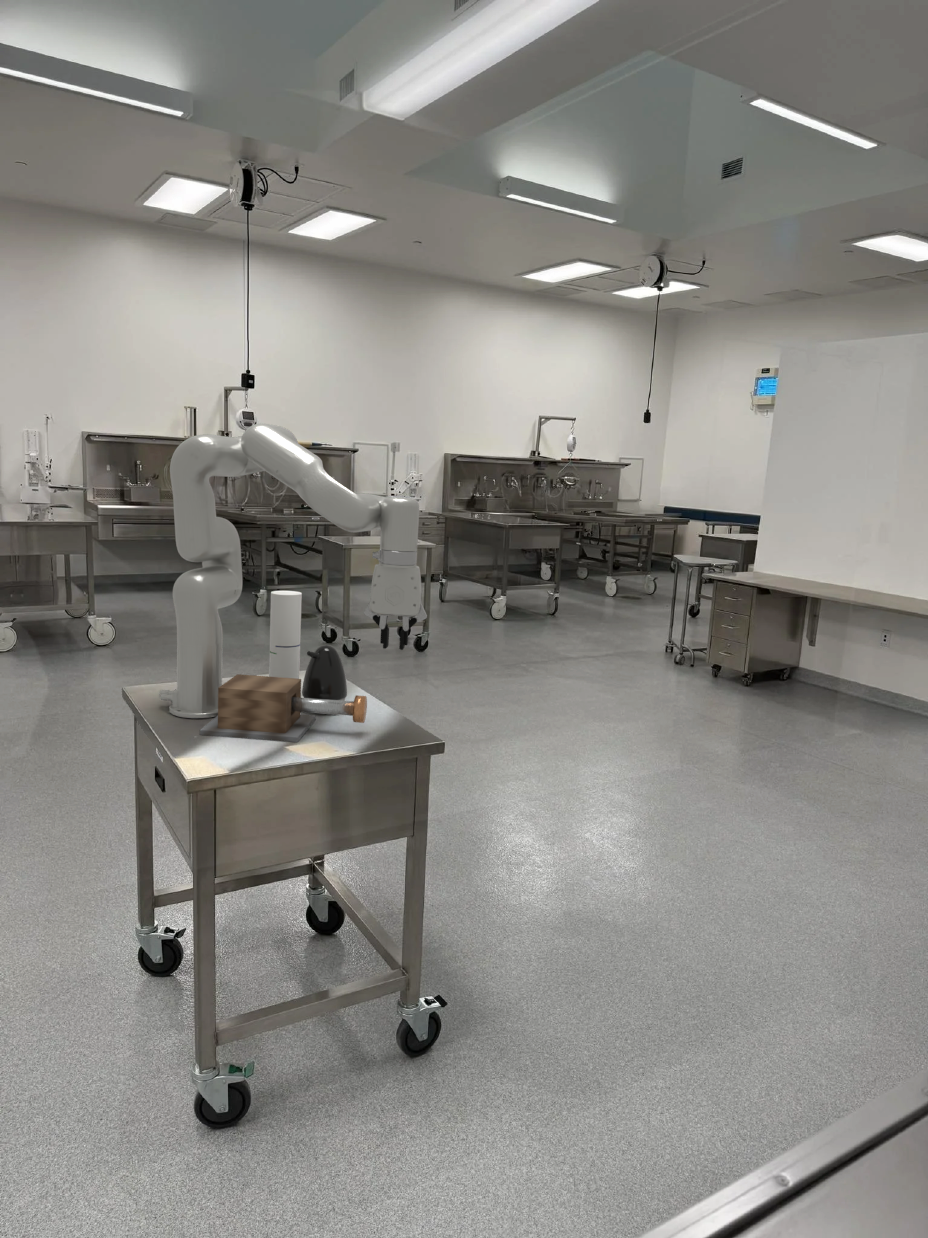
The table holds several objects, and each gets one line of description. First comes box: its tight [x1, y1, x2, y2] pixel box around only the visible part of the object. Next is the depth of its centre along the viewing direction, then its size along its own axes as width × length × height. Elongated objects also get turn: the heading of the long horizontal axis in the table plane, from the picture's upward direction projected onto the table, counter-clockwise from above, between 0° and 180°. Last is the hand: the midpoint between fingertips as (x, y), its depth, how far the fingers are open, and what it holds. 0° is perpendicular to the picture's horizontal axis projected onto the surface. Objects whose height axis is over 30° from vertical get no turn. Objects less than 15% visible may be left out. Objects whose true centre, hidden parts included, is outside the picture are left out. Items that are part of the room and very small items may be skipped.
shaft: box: [291, 694, 368, 724], centre depth 174 cm, size 20×6×6 cm, turn 87°
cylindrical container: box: [268, 590, 303, 679], centre depth 199 cm, size 7×7×25 cm
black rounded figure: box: [301, 644, 348, 701], centre depth 189 cm, size 10×10×15 cm
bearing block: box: [199, 673, 317, 743], centre depth 174 cm, size 20×16×10 cm
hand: (393, 647), depth 171 cm, fingers open, 2 cm apart
